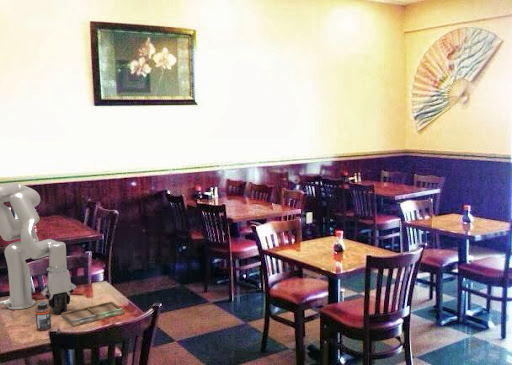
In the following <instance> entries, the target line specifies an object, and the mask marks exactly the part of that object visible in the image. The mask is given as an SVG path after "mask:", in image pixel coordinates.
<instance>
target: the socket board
mask: <svg viewBox="0 0 512 365" xmlns="http://www.w3.org/2000/svg"><path fill="white" fill-rule="evenodd" d="M125 312H126V311H124V310H123V308H122V307H120V306H119V305H117V304H116V303H115V302H113V301H108V302H103V303H99V304H95V305H89V306H86V307H82V308H81V307H80V308H77V309H73V310H69V311H68V310H67V312H64V313H61V314H60V317H61V318H62V319H63V320H64V321H65V322H66V323H68V324H69V325H70V326H71V328H74V327H77V326H83V325H86V324H91V323H94V322H95V323H96V322H99V321H103V320H106V319H110V318H114V317H119V316H123V315H126V313H125Z"/></svg>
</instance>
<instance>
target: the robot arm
mask: <svg viewBox="0 0 512 365" xmlns="http://www.w3.org/2000/svg"><path fill="white" fill-rule="evenodd" d="M7 202H9V204H10V205H11V208H12V209H10V208H9V207H8V206H7V205H5V204H4V203H7ZM40 202H41V196H40V194H39V193H38V192H37V190H35V189H33V188H32V187H30V186H27V185H24V184H21V183H18V182H13V183H11V182H10V183H4V184H0V236H1V239H2V240H4V241H6V242H10V241H15V240H18V241H15V242H11V243H10V244H8V245H7V246H6V247H5V249H4V257H5V260H6V264H7V271H8V272H7V273H8V285H9V296H8V298H6V299H3V300H0V306H2V305H3V306H6V307H7V309H10V310H24V309H29V308H31V307H33V306H34V305H35V304H36V300H35V299H33V298H32V297H33V296H32V286H31V285H32V284H31V271H30V270H31V269H30V266H29V264H28V263H27V262H26V260H28V259H31V260H38V259H43V258H44V257H48V263H49V264H48V267H46V268H45V269H46V272H48V273H47V278H46V280H47V281H46V287H44V289H42V290H41V292H40V294H41V295H43V296H44V297H45V298H46V299H48V307H49V308H50V309H52V308H53V299H52V297H53V295H54V294H59V293H64V292H66V293H67V305H70V302H71V296H72V294H73V292H74V291H75V289H76V288H77V285H76V284H75V283H72V281H71V274H70V271H69V269H67V268H68V266H67V247H66V243H65V242H63V241H56V240H54V239H53V238H47V239H44V240H39V238H38V235H37V232H36V229H35V228H34V226H35V225H36V224H38V222H39V221H40V216H39V213H38V212H37V210H36V208H35V207H37V206H38V205H39V204H40ZM12 210H13V212H14V213H15V216H16V217H17V218H15V217H14V214H13V212H12ZM19 239H20V240H19ZM47 292H48V293H47Z"/></svg>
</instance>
